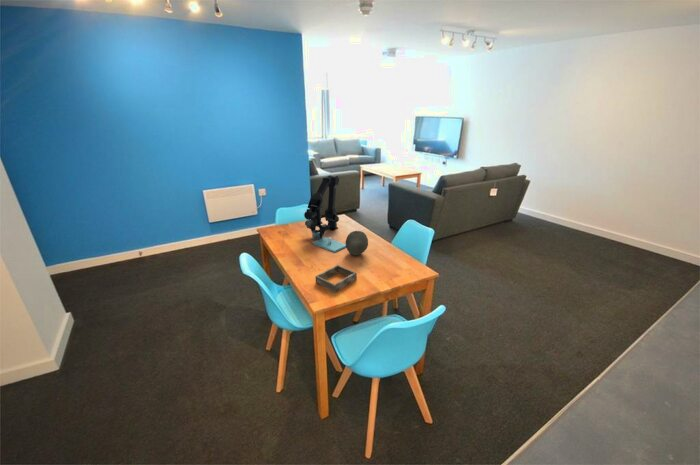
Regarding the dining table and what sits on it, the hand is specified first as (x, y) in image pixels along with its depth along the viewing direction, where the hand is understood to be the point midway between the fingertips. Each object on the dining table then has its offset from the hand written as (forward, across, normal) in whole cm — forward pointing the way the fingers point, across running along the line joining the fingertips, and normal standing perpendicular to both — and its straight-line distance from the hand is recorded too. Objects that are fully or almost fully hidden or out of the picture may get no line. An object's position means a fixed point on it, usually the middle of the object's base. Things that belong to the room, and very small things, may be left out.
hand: (317, 236), depth 208 cm
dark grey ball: (+1, +37, -2) cm, 37 cm away
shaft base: (+1, +15, -3) cm, 15 cm away
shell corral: (+1, +49, -33) cm, 59 cm away
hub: (+1, 0, 0) cm, 1 cm away
